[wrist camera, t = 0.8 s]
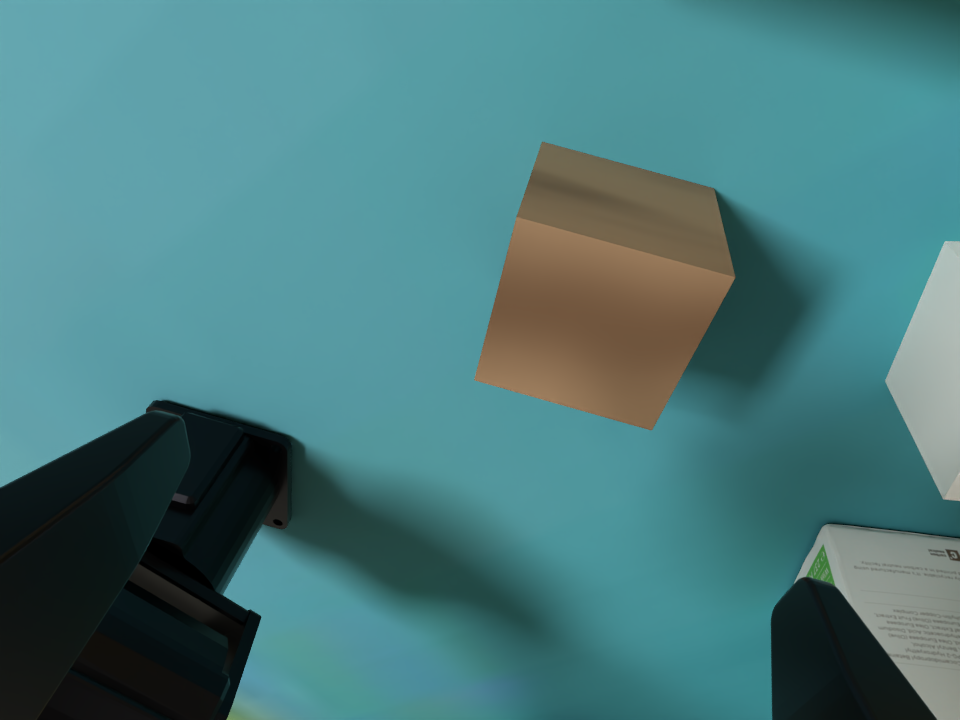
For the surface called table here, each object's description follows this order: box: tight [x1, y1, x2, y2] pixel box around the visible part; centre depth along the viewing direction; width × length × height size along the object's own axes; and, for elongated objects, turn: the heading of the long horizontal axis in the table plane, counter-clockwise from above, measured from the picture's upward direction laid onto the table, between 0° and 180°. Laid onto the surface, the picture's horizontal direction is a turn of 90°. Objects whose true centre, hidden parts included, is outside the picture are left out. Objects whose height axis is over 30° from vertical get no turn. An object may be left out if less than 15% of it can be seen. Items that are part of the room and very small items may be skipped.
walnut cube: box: [474, 142, 735, 430], centre depth 17 cm, size 5×5×5 cm
